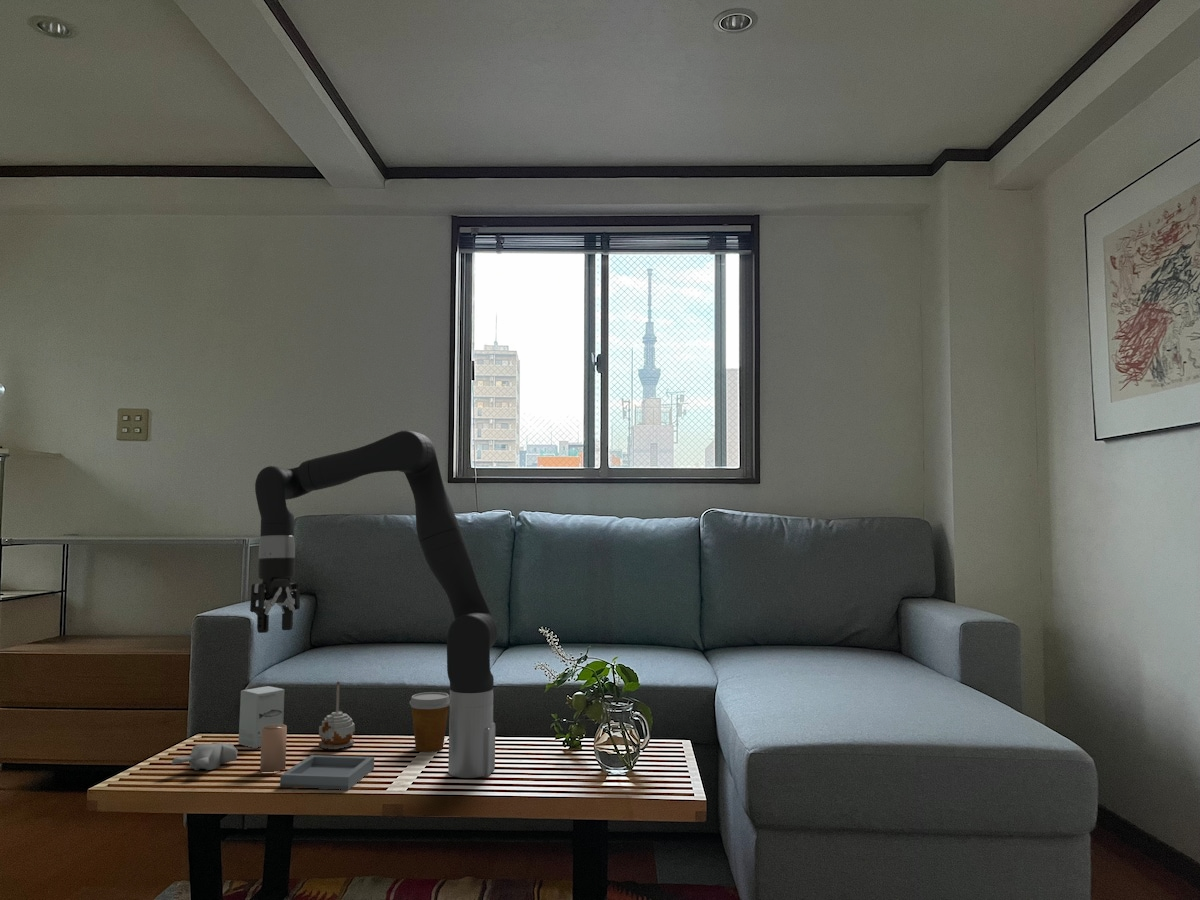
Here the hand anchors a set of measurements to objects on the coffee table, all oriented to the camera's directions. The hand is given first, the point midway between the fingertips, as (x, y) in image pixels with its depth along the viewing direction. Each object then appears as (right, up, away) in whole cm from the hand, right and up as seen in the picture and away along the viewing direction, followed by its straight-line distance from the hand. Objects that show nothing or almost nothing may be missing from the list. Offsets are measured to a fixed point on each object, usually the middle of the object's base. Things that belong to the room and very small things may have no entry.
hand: (275, 631), depth 183 cm
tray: (+15, -28, -11) cm, 34 cm away
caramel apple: (+9, -30, +13) cm, 34 cm away
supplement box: (-9, -30, +15) cm, 35 cm away
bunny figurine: (-13, -29, -4) cm, 32 cm away
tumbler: (+2, -28, -6) cm, 29 cm away
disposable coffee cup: (+31, -30, +12) cm, 45 cm away
